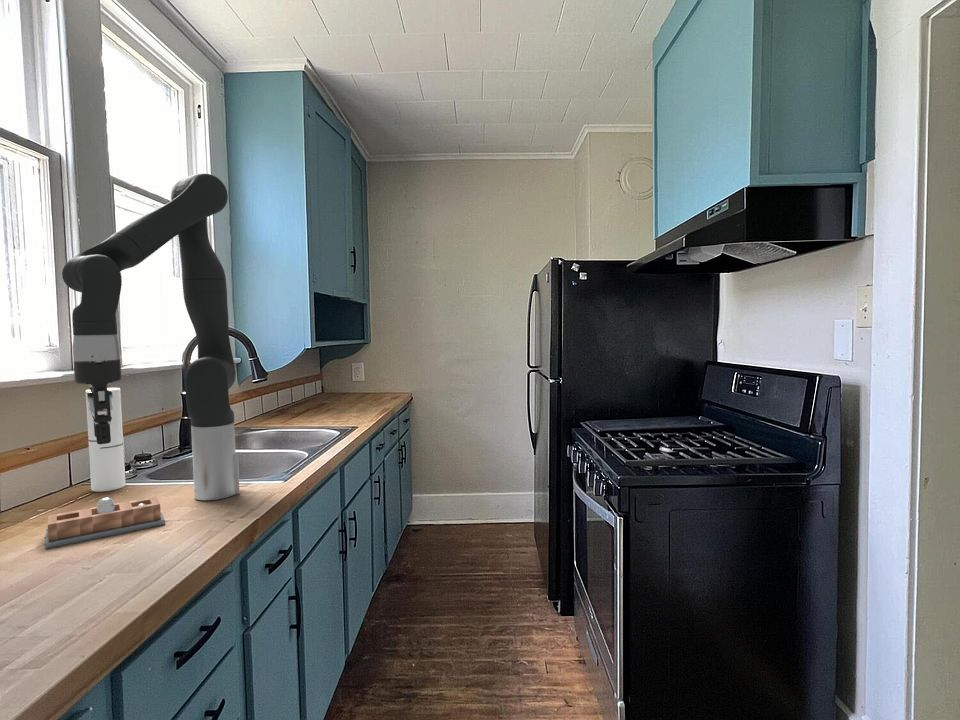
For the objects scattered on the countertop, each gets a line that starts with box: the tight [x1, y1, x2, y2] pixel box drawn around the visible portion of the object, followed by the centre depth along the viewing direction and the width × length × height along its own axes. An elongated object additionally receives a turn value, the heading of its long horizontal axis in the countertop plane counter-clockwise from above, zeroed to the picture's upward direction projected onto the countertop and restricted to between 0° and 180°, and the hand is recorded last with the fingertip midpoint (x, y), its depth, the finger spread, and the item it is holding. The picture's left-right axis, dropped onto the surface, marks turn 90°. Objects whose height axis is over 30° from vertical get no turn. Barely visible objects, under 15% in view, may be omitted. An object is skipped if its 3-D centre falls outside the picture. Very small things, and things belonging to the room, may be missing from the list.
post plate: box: [44, 497, 166, 549], centre depth 107 cm, size 19×9×6 cm, turn 128°
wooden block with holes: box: [47, 496, 162, 540], centre depth 107 cm, size 18×6×3 cm, turn 128°
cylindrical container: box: [85, 387, 126, 492], centre depth 135 cm, size 7×7×25 cm
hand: (102, 440), depth 106 cm, fingers open, 8 cm apart
